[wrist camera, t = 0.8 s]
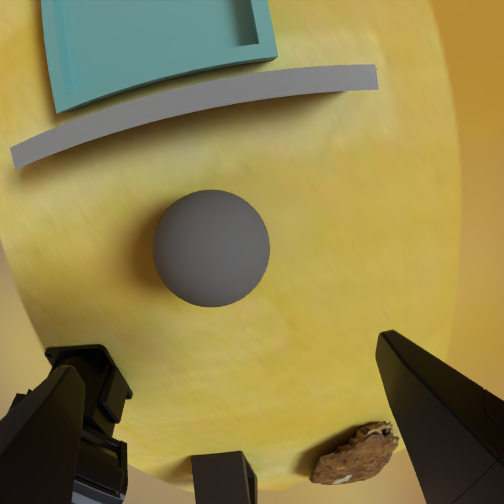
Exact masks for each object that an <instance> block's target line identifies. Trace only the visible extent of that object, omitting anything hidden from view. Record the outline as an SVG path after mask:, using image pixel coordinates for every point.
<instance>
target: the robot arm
mask: <svg viewBox="0 0 504 504" xmlns="http://www.w3.org/2000/svg"><path fill="white" fill-rule="evenodd" d="M101 351H102V352H101ZM45 356H46V357H47V359H48V360H49V362H50V363H51V365H52V366H53V367H52V369H51V371H50V373H49V375H48V377H47V378H46V379H45V380H44V381H43V382H42V383H41V384H40V385H39V386H37V387H36V388H35V389H34V390H33V391H32V390H30V389H29V390H28V392H27V394H26V395H25V394H19V393H17V394H16V397H15V398H14V400H13V403H12V405H11V407H10V409H9V411H8V413H7V415H6V416H5V417H3V418H2V419H1V420H0V504H122V502H123V501H124V498H125V495H126V491H127V486H128V471H127V443H125V442H123V441H119V440H116V439H114V438H112V435H113V431H114V427H115V424H118V423H119V422H120V420H121V416H122V412H123V408H124V404H125V400H126V399H131V398H132V396H133V393H132V391H131V389H130V388H129V386H128V384H127V382H126V381H125V379H124V378H123V376H122V374H121V373H120V371H119V369H118V368H117V367H116V365H115V363H114V361H113V360H112V358H111V356H110V355H109V353H108V351H107V349H106V348H105V347H104V346H102V345H90V346H77V347H62V348H48V349H46V351H45ZM375 356H376V362H377V365H378V368H379V372H380V375H381V379H382V382H383V385H384V389H385V393H386V396H387V400H388V403H389V406H390V408H391V411H392V413H393V416H394V418H395V421H396V423H397V426H398V428H399V431H400V433H401V436H402V438H403V441H404V443H405V446H406V449H407V451H408V454H409V456H410V459H411V462H412V464H413V467H414V470H415V472H416V475H417V478H418V480H419V483H420V486H421V489H422V492H423V494H424V497H425V500H426V503H427V504H504V401H503V400H502V399H500V398H498V397H497V396H495V395H493V394H492V393H490V392H489V391H487V390H486V389H483V387H481V386H480V385H478V384H477V383H475V382H473V381H472V380H470V379H469V378H467V377H466V376H464V375H463V374H461V373H460V372H458V371H457V370H455V369H454V368H452V367H451V366H449V365H447V364H446V363H444V362H443V361H441V360H440V359H438V358H437V357H435V356H434V355H432V354H430V353H429V352H427V351H426V350H424V349H423V348H421V347H420V346H418V345H417V344H415V343H413V342H412V341H410V340H409V339H407V338H406V337H404V336H403V335H401V334H399V333H398V332H396V331H395V330H388V331H384V332H381V333H380V334H379V336H378V341H377V347H376V353H375Z"/></svg>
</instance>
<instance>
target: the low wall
mask: <svg viewBox="0 0 504 504" xmlns="http://www.w3.org/2000/svg"><path fill="white" fill-rule="evenodd" d="M376 89H378V81H377V73H376V66H375V65H335V66H318V67H305V68H294V69H284V70H275V71H267V72H260V73H253V74H246V75H240V76H234V77H228V78H223V79H217V80H212V81H207V82H202V83H197V84H193V85H188V86H184V87H180V88H176V89H172V90H168V91H164V92H160V93H156V94H152V95H149V96H145V97H142V98H138V99H135V100H131V101H128V102H125V103H122V104H118V105H115V106H112V107H109V108H106V109H103V110H100V111H97V112H95V113H92V114H89V115H86V116H83V117H81V118H78V119H75V120H73V121H70V122H68V123H65V124H63V125H60V126H58V127H55V128H53V129H51V130H48V131H46V132H44V133H41V134H39V135H37V136H35V137H32V138H30V139H28V140H26V141H24V142H22V143H19V144H17V145H15V146H13V147H11V148H10V150H11V154H12V158H13V161H14V165H15V169H18V168H20V167H23V166H25V165H27V164H30V163H32V162H34V161H37V160H39V159H42V158H44V157H47V156H49V155H52V154H54V153H57V152H60V151H62V150H65V149H68V148H70V147H73V146H76V145H79V144H82V143H84V142H87V141H90V140H93V139H96V138H99V137H102V136H106V135H109V134H112V133H115V132H118V131H122V130H125V129H128V128H132V127H135V126H139V125H143V124H146V123H150V122H154V121H158V120H161V119H165V118H170V117H174V116H178V115H182V114H186V113H191V112H196V111H200V110H205V109H210V108H215V107H220V106H225V105H231V104H237V103H242V102H249V101H255V100H262V99H269V98H276V97H284V96H292V95H301V94H311V93H322V92H335V91H351V90H376Z"/></svg>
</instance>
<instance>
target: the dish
mask: <svg viewBox="0 0 504 504" xmlns="http://www.w3.org/2000/svg"><path fill="white" fill-rule="evenodd" d="M41 11H42V23H43V33H44V42H45V50H46V57H47V64H48V71H49V77H50V83H51V88H52V94H53V99H54V104H55V109H56V113H63V112H69V111H72V110H74V109H77V108H79V107H82V106H85V105H87V104H90V103H93V102H95V101H98V100H101V99H104V98H107V97H110V96H113V95H116V94H119V93H122V92H125V91H128V90H132V89H135V88H138V87H142V86H145V85H149V84H152V83H156V82H160V81H164V80H168V79H172V78H176V77H180V76H184V75H188V74H193V73H197V72H202V71H207V70H212V69H217V68H223V67H228V66H234V65H240V64H247V63H254V62H261V61H269V60H274V59H276V58H277V57H278V53H277V47H276V42H275V37H274V31H273V26H272V21H271V16H270V11H269V6H268V1H267V0H41Z"/></svg>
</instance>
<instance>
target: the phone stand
mask: <svg viewBox="0 0 504 504" xmlns="http://www.w3.org/2000/svg"><path fill="white" fill-rule="evenodd" d="M191 461H192V472H193V481H194V491H195V500H196V504H257V476H256V474H255V473H254V471H253V469H252V468H251V466H250V464H249V463H248V461H247V459H246V457H245V456H244V454H243V452H242V451H239V452H230V453H221V454H211V455H199V456H191Z"/></svg>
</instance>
